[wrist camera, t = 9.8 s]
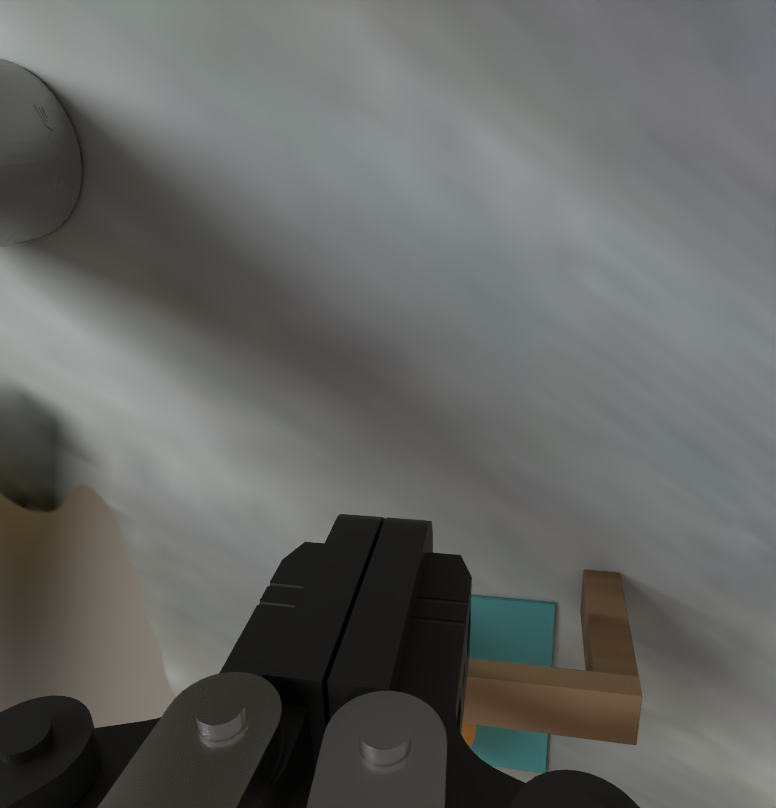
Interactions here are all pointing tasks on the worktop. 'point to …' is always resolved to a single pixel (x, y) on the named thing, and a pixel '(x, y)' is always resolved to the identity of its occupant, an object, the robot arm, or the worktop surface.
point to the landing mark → (515, 643)
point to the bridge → (568, 679)
